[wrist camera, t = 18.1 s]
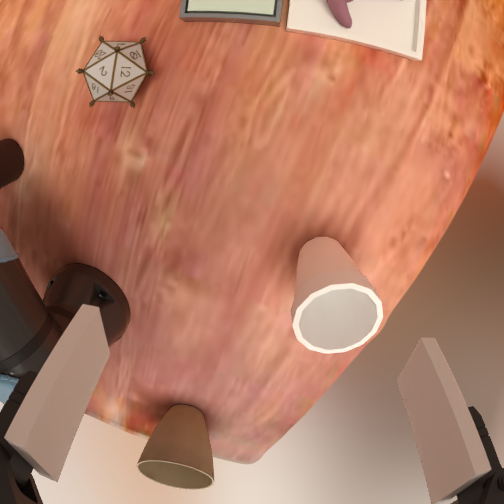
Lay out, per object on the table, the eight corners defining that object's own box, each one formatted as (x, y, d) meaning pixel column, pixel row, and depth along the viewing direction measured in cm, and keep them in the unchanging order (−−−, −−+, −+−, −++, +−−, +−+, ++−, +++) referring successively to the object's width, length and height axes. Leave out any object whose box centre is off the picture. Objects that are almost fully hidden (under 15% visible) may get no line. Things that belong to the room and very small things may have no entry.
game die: (127, 77, 35) (58, 78, 28) (156, 26, 30) (81, 18, 22) (151, 122, 34) (73, 128, 27) (186, 68, 29) (99, 61, 22)
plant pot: (214, 435, 66) (207, 494, 52) (152, 420, 65) (137, 477, 51) (228, 403, 59) (221, 473, 45) (155, 385, 58) (135, 453, 44)
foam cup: (316, 211, 40) (336, 266, 28) (368, 249, 42) (400, 309, 31) (272, 266, 44) (274, 332, 32) (324, 296, 46) (339, 363, 35)
